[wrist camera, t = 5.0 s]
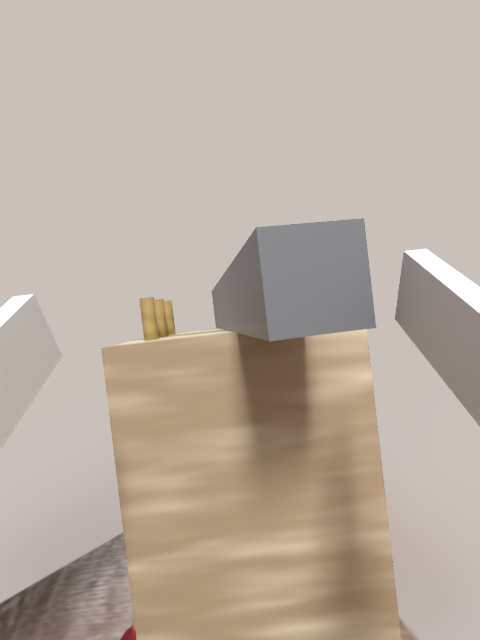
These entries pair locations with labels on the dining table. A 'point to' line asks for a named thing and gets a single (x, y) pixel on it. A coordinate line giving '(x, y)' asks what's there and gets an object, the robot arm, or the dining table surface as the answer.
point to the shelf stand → (250, 485)
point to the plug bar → (298, 282)
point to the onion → (130, 633)
